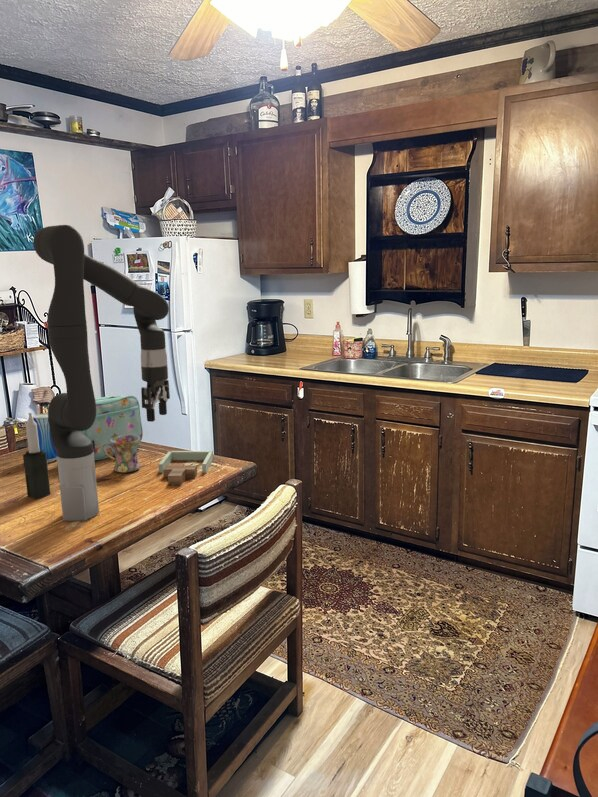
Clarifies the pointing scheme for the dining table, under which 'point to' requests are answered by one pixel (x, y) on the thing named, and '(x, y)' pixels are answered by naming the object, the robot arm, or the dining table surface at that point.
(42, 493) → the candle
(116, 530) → the dining table surface
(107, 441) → the lunch box
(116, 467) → the mug
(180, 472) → the t block
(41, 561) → the dining table surface
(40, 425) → the beer can
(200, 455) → the bay
